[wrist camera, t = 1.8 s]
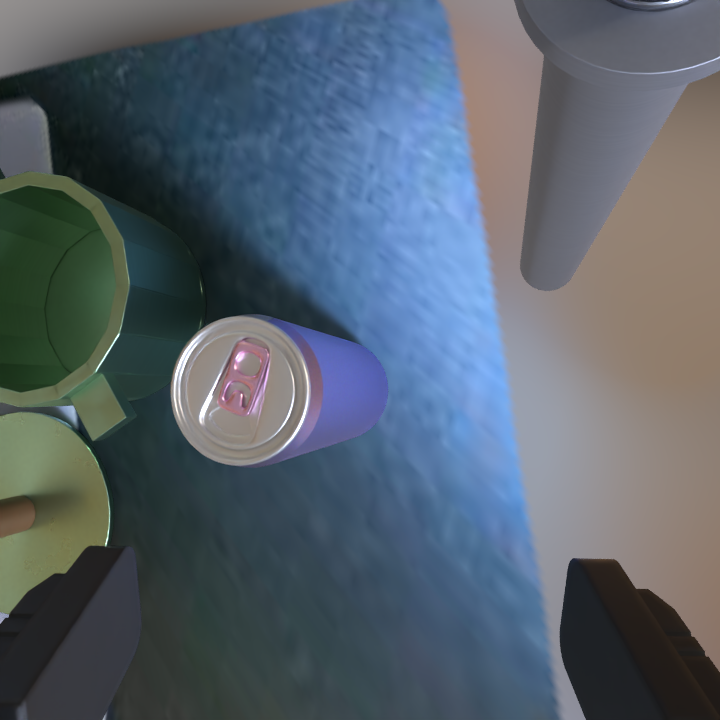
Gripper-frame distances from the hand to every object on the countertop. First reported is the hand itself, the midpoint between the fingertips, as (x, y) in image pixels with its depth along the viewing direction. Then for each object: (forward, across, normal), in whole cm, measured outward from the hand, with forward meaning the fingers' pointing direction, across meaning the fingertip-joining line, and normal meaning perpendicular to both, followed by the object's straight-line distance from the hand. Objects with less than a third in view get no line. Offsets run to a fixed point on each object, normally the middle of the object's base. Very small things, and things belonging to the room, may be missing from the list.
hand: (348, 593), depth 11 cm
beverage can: (+26, +1, +5) cm, 26 cm away
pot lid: (+27, +23, +15) cm, 38 cm away
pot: (+31, +16, +1) cm, 35 cm away
